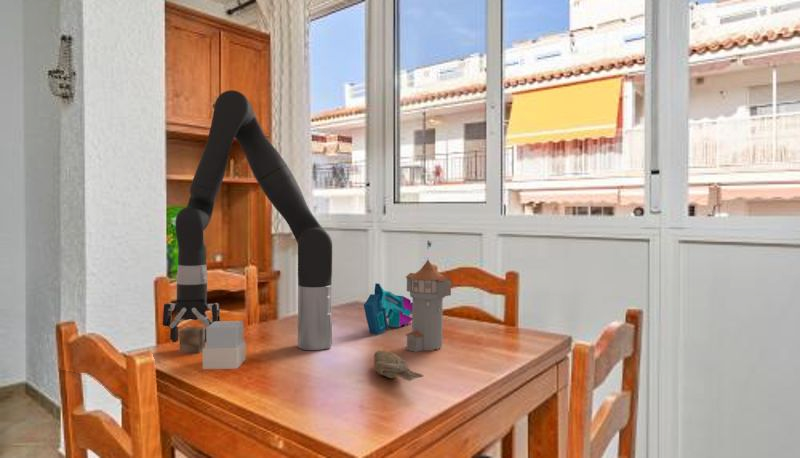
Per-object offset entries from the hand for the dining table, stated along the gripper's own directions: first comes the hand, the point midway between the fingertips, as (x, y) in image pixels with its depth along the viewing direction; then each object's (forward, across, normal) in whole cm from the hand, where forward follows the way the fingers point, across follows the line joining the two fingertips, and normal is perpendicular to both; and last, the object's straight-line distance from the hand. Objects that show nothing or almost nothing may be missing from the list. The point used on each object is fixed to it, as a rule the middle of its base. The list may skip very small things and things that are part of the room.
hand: (191, 341), depth 134 cm
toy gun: (+2, -54, -26) cm, 60 cm away
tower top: (-2, -12, +12) cm, 17 cm away
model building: (+2, -63, -3) cm, 63 cm away
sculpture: (+2, -53, +25) cm, 59 cm away
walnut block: (+3, 0, 0) cm, 3 cm away
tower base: (+3, -12, +12) cm, 17 cm away
